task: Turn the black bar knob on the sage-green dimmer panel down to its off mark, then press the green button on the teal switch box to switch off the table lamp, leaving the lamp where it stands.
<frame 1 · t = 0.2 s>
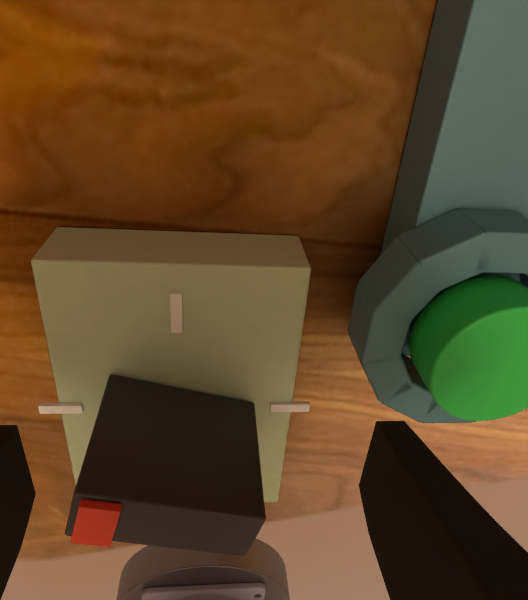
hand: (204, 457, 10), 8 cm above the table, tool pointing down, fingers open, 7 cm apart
dimmer panel: (183, 360, 18), on the table
light button: (486, 350, 13), point 4 cm above the table, slide at 0.1 cm
dimmer knob: (173, 462, 14), point 5 cm above the table, hinge at 75.0°
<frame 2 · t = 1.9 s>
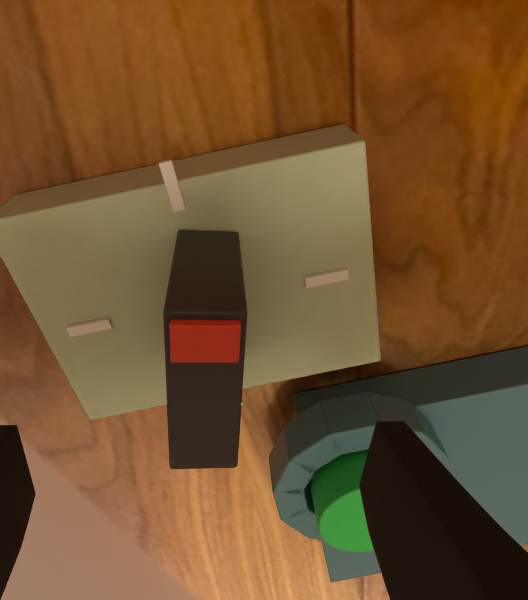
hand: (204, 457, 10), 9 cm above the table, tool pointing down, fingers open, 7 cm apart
dimmer panel: (208, 266, 17), on the table
light button: (365, 500, 18), point 4 cm above the table, slide at 0.1 cm
dimmer knob: (206, 346, 13), point 5 cm above the table, hinge at 75.0°
switch box: (462, 448, 24), on the table
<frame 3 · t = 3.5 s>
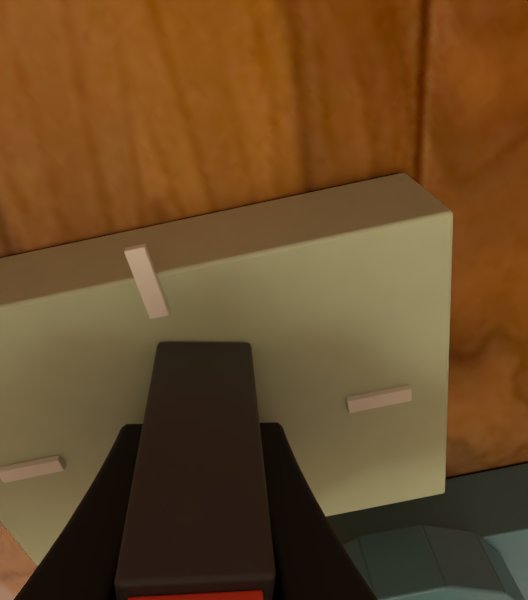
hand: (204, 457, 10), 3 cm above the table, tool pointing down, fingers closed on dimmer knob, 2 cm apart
dimmer panel: (206, 360, 12), on the table
dimmer knob: (200, 535, 8), point 5 cm above the table, hinge at 75.1°, touching gripper
switch box: (525, 555, 19), on the table
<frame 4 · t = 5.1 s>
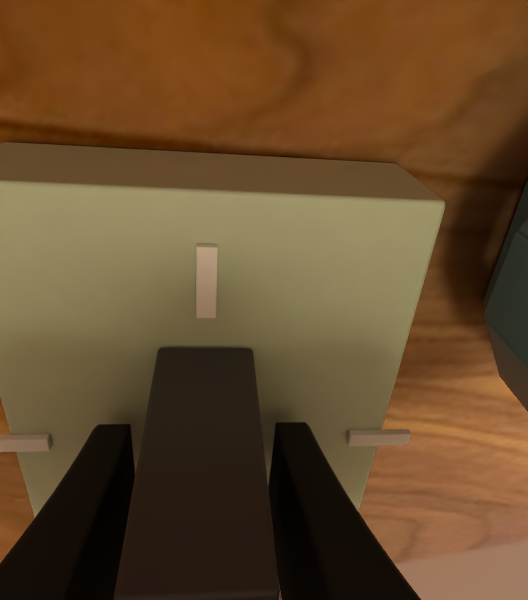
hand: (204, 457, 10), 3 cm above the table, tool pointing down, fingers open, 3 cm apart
dimmer panel: (206, 364, 12), on the table
dimmer knob: (201, 544, 8), point 5 cm above the table, hinge at -0.1°
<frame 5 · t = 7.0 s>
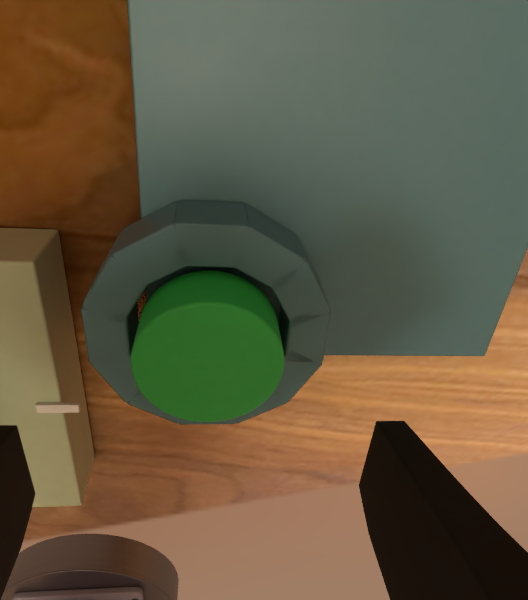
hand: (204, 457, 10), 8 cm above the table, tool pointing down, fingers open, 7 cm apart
light button: (209, 348, 13), point 4 cm above the table, slide at 0.1 cm
switch box: (347, 100, 14), on the table
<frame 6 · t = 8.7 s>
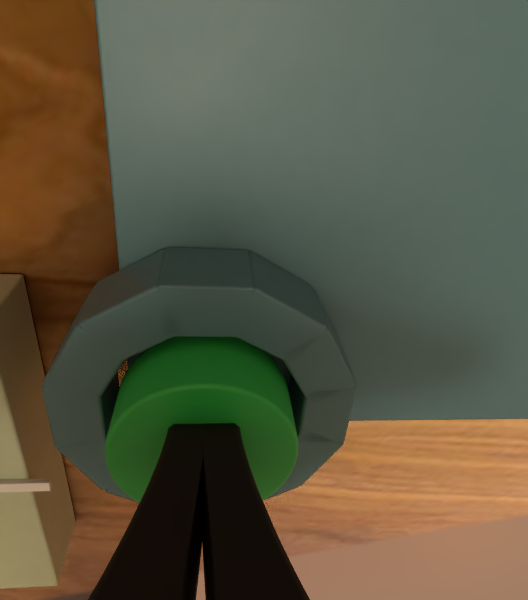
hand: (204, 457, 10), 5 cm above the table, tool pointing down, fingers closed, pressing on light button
light button: (204, 427, 10), point 4 cm above the table, slide at -0.1 cm, touching gripper
switch box: (374, 120, 11), on the table
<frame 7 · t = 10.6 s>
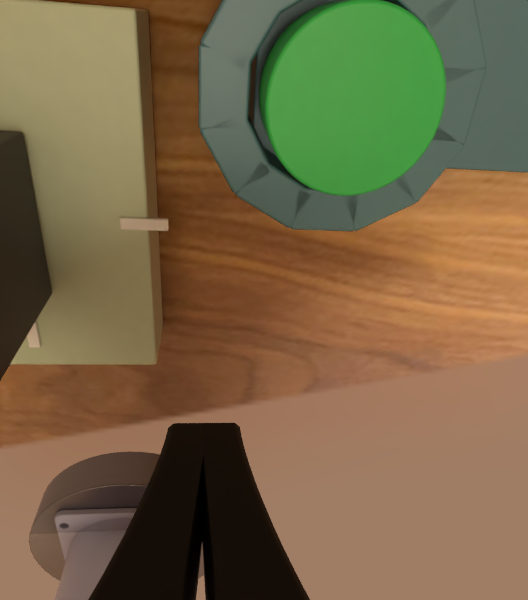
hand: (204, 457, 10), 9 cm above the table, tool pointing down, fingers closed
dimmer panel: (36, 190, 16), on the table
light button: (347, 101, 11), point 4 cm above the table, slide at 0.1 cm
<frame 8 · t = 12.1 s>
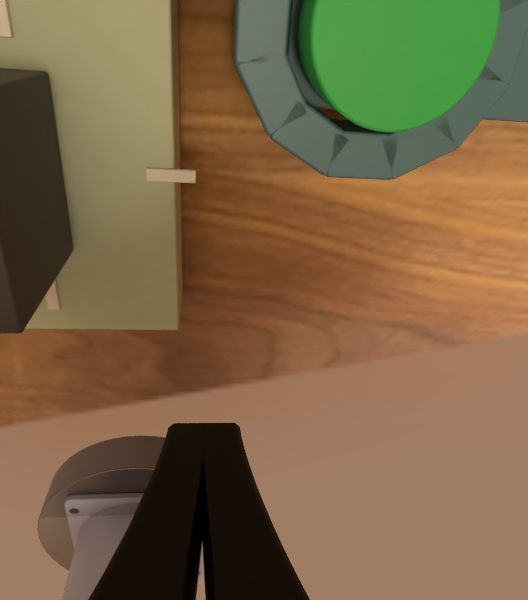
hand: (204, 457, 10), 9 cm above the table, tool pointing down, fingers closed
dimmer panel: (56, 147, 15), on the table
light button: (392, 31, 10), point 4 cm above the table, slide at 0.1 cm
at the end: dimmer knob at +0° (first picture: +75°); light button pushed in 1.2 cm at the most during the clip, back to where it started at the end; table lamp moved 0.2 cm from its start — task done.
